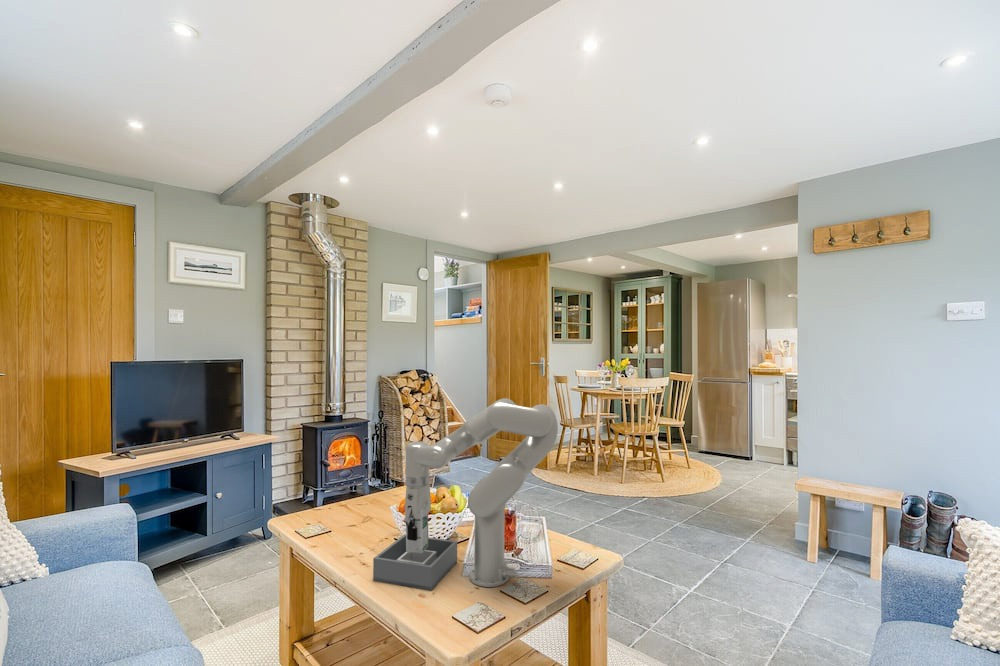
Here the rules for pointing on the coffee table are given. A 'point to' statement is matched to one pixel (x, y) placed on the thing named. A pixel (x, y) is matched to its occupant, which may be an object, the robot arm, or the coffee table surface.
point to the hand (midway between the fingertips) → (417, 535)
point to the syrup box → (419, 536)
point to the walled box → (415, 564)
